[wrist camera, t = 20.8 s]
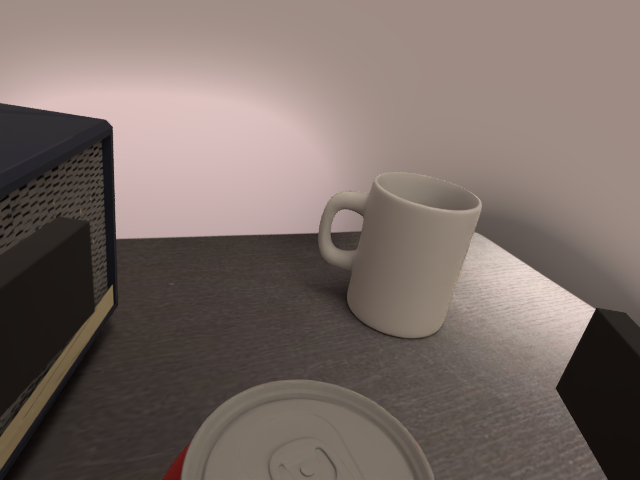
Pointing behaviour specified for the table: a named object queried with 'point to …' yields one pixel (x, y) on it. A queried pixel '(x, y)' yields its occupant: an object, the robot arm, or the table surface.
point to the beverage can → (301, 438)
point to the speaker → (40, 209)
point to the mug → (404, 250)
